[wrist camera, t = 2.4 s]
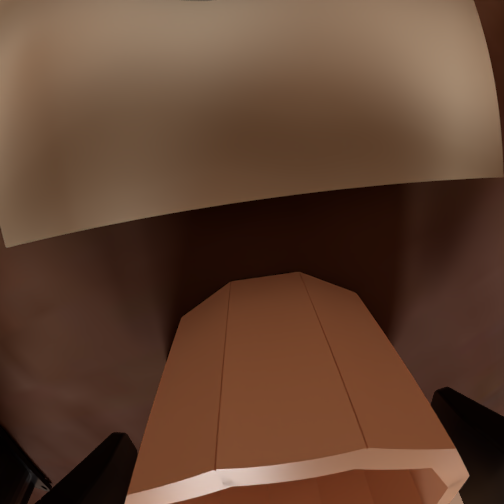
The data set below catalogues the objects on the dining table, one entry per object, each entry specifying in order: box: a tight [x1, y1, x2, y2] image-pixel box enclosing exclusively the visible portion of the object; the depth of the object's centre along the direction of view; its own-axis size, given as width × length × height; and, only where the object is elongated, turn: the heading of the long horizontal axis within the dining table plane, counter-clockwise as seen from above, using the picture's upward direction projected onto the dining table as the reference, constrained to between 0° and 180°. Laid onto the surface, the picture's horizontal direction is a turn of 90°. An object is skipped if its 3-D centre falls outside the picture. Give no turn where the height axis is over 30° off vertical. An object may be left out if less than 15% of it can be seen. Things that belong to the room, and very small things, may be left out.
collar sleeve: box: [125, 272, 470, 504], centre depth 7 cm, size 7×7×6 cm
